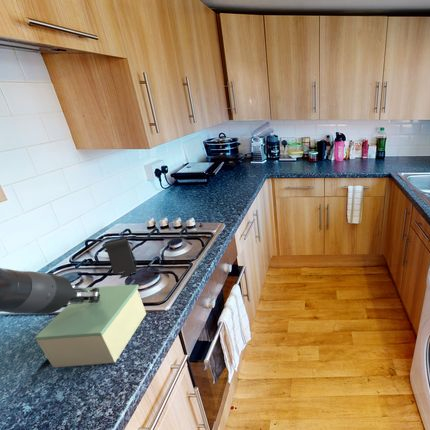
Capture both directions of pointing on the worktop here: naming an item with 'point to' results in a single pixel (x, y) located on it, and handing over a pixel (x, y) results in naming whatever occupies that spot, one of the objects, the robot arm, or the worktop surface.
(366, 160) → the worktop surface
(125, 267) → the phone stand
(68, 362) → the box
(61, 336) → the lid
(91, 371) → the worktop surface
